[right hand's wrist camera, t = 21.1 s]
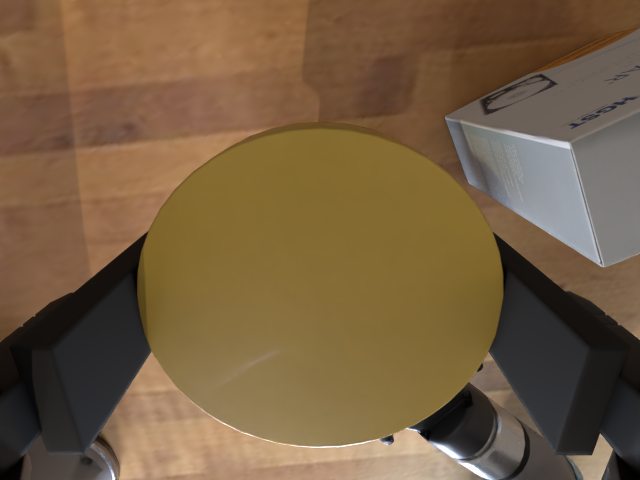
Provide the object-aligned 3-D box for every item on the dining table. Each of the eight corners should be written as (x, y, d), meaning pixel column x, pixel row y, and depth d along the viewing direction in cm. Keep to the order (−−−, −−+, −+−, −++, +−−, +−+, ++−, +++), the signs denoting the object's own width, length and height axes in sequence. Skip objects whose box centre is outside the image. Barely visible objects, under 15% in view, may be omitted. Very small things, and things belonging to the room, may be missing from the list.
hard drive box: (607, 30, 33) (974, -46, 15) (624, 113, 36) (956, 136, 17) (439, 115, 36) (573, 141, 17) (466, 187, 38) (608, 277, 20)
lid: (214, 57, 9) (195, 51, 8) (546, 205, 11) (582, 224, 9) (128, 356, 13) (102, 391, 11) (390, 440, 14) (399, 481, 13)
